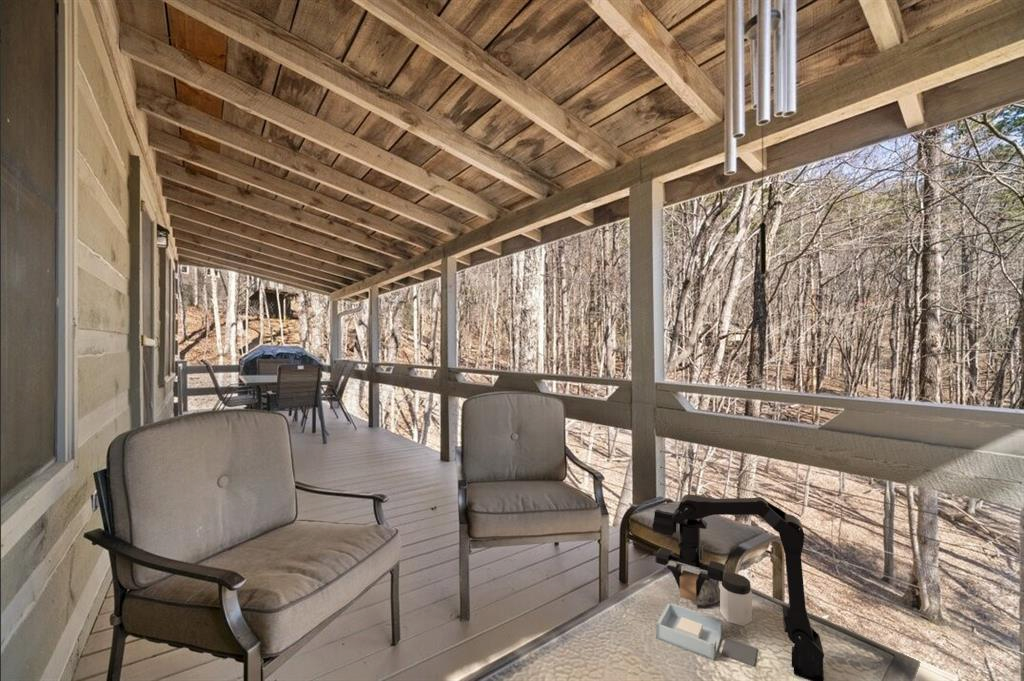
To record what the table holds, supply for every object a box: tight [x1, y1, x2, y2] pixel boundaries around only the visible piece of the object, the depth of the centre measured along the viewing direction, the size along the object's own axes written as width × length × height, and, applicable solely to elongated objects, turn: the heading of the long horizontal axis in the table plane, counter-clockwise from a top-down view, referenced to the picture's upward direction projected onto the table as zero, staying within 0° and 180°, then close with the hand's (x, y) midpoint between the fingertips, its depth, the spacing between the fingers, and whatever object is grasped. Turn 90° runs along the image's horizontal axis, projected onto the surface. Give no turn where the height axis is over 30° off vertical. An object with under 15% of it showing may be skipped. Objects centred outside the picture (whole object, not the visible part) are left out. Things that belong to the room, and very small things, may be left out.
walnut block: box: [679, 569, 700, 602], centre depth 127 cm, size 4×4×6 cm
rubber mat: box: [720, 636, 758, 668], centre depth 120 cm, size 8×8×1 cm
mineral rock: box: [690, 579, 720, 606], centre depth 145 cm, size 13×11×10 cm
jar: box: [719, 572, 753, 627], centre depth 136 cm, size 9×8×12 cm
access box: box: [655, 602, 723, 661], centre depth 127 cm, size 16×14×4 cm
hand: (689, 592), depth 127 cm, fingers closed on walnut block, 4 cm apart
